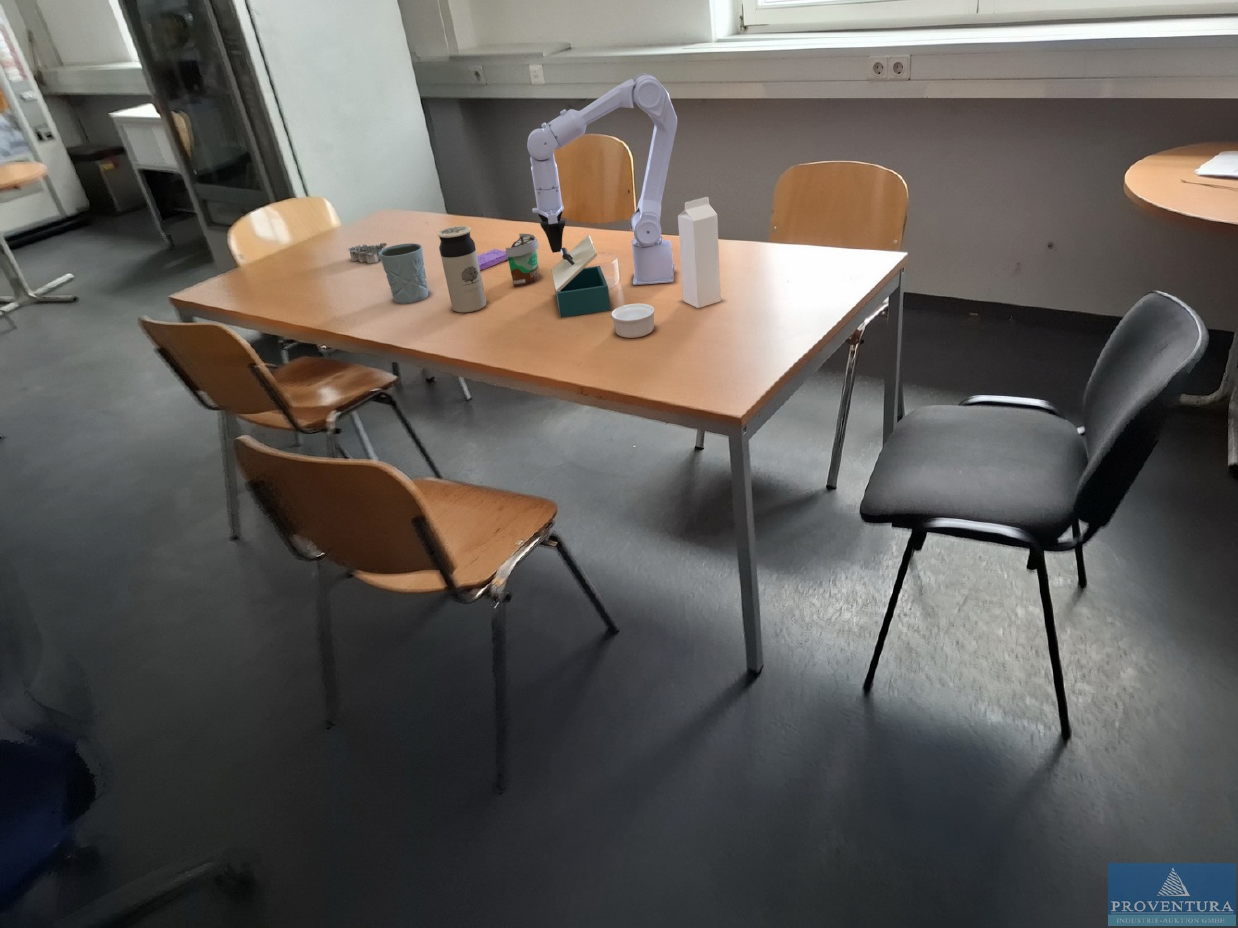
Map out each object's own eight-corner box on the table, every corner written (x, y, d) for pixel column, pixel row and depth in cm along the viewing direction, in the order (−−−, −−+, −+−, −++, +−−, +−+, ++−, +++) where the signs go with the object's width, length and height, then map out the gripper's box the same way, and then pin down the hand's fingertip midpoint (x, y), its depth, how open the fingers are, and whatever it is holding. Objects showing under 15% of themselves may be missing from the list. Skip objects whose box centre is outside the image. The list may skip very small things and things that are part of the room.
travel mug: (449, 306, 194) (432, 230, 184) (481, 298, 196) (466, 223, 187) (457, 316, 187) (440, 238, 178) (490, 308, 190) (475, 230, 180)
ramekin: (623, 343, 164) (621, 323, 162) (606, 329, 172) (604, 310, 169) (663, 332, 167) (661, 312, 165) (644, 319, 174) (643, 299, 172)
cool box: (602, 288, 193) (600, 265, 190) (610, 310, 181) (607, 286, 178) (556, 295, 192) (552, 272, 189) (560, 317, 180) (557, 293, 177)
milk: (720, 301, 178) (717, 199, 167) (697, 309, 176) (693, 205, 164) (704, 294, 183) (700, 194, 171) (682, 301, 181) (676, 200, 169)
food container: (536, 288, 198) (529, 247, 193) (512, 289, 199) (505, 248, 194) (549, 271, 208) (543, 231, 203) (526, 271, 210) (519, 233, 204)
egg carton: (391, 257, 234) (388, 243, 232) (370, 265, 229) (366, 251, 227) (368, 252, 240) (365, 238, 238) (347, 260, 235) (343, 246, 233)
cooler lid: (590, 236, 186) (578, 224, 185) (597, 255, 174) (585, 242, 172) (553, 271, 189) (541, 260, 188) (558, 292, 177) (545, 280, 175)
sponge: (512, 258, 220) (511, 251, 219) (475, 273, 213) (474, 266, 212) (496, 255, 225) (494, 248, 224) (459, 268, 218) (457, 262, 217)
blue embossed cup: (383, 304, 200) (370, 256, 194) (405, 289, 208) (394, 242, 202) (418, 305, 196) (406, 256, 190) (440, 290, 204) (429, 242, 198)
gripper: (527, 182, 189) (537, 240, 196) (530, 197, 176) (540, 258, 183) (558, 178, 189) (566, 236, 196) (563, 192, 177) (571, 254, 184)
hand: (555, 247), depth 190 cm, fingers open, 7 cm apart
